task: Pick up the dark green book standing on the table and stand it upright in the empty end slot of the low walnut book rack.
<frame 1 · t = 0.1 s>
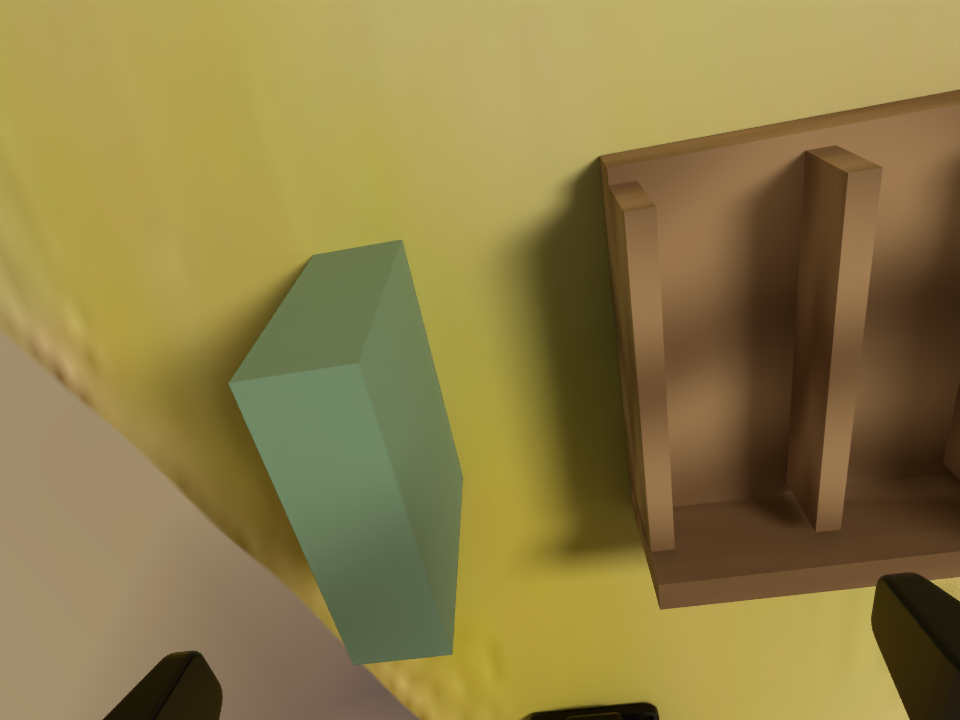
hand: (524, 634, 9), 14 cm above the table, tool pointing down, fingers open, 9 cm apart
green book: (395, 375, 24), on the table
book rack: (872, 304, 22), on the table
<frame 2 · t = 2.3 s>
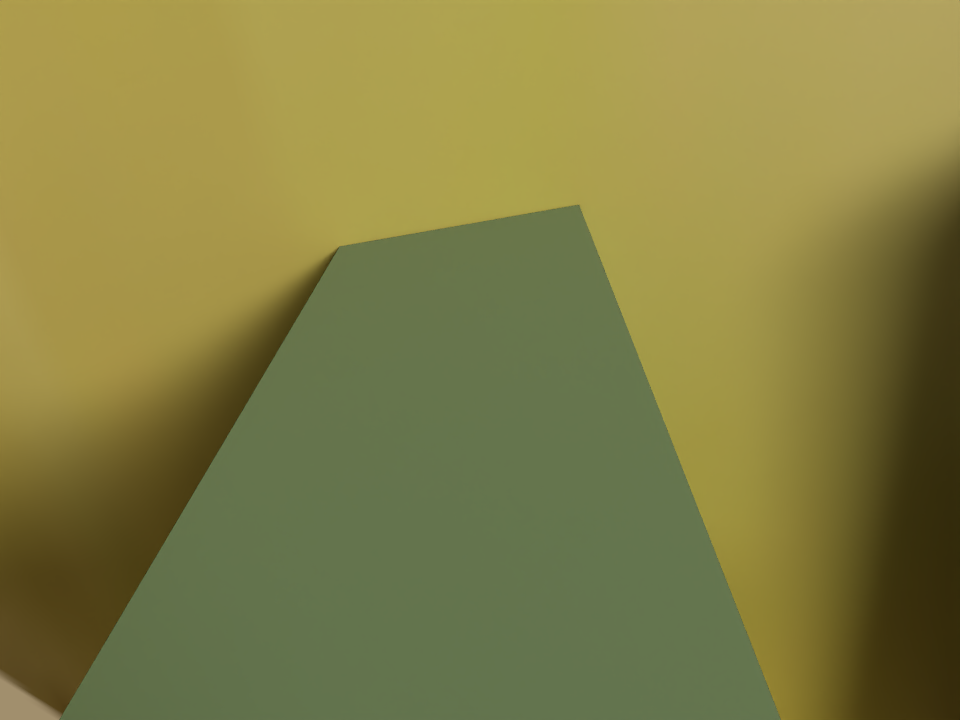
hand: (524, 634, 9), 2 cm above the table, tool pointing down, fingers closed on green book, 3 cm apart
green book: (519, 524, 10), on the table, touching gripper
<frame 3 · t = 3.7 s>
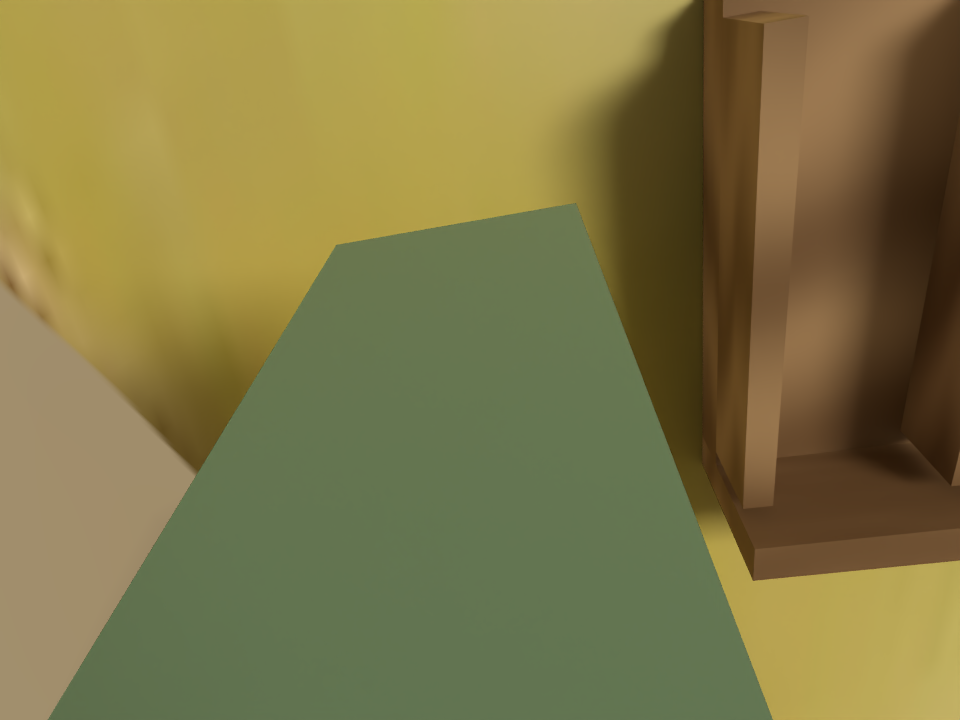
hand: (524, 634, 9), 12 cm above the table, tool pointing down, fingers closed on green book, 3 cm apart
green book: (516, 523, 10), point 10 cm above the table, touching gripper
when the fingers open (5 cm above the table, at t = 5.5 s): green book drops 1 cm, resting on book rack.
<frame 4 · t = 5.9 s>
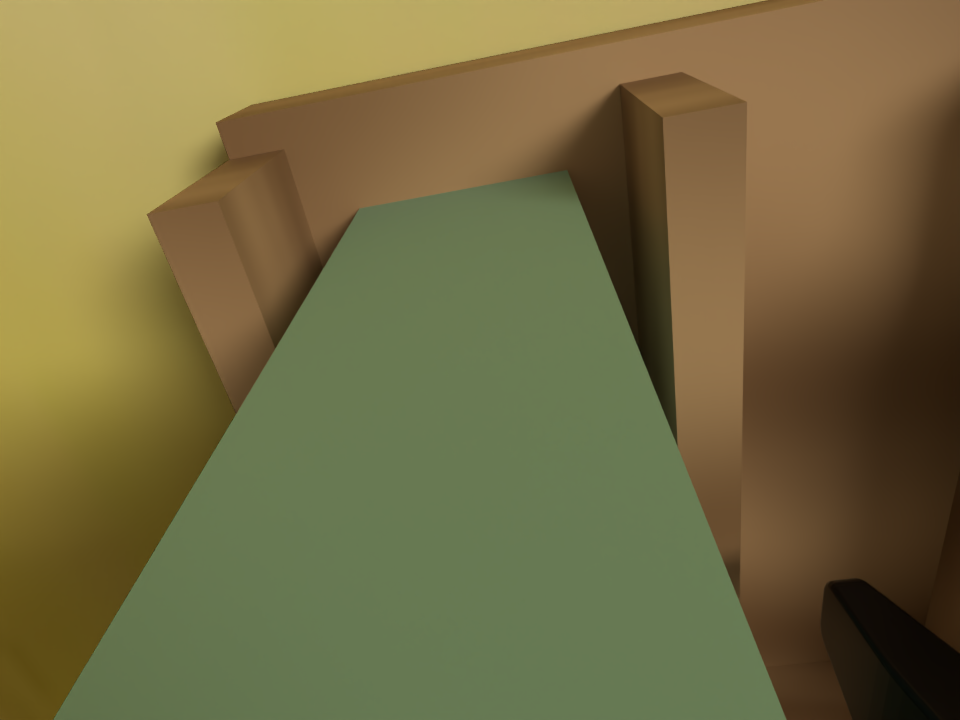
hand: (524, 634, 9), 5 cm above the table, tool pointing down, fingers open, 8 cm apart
green book: (517, 463, 12), point 1 cm above the table, touching book rack
book rack: (795, 376, 12), on the table
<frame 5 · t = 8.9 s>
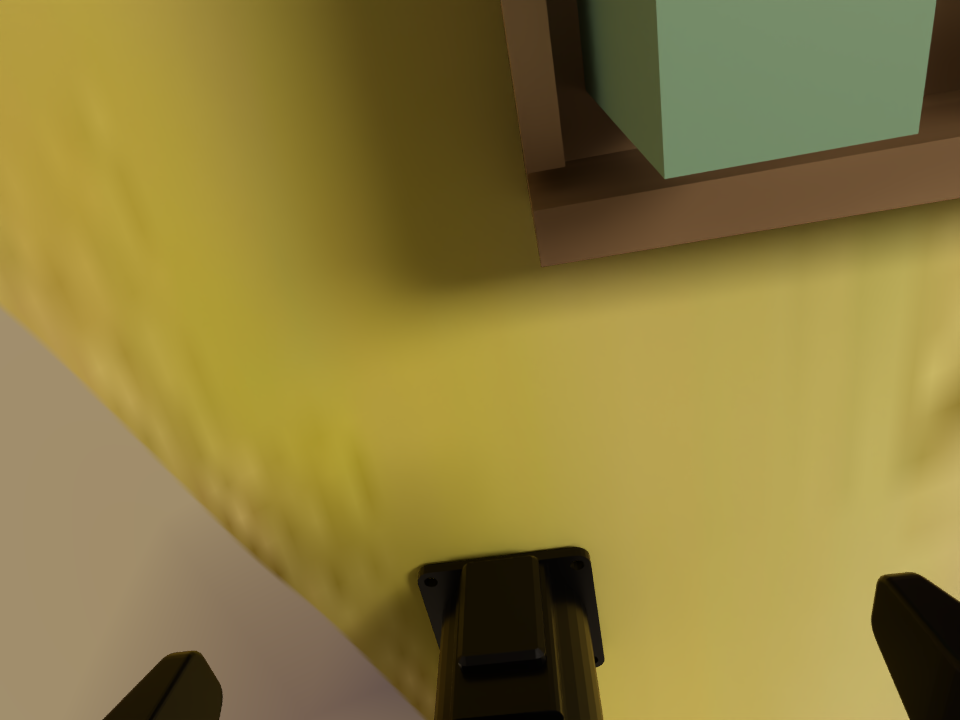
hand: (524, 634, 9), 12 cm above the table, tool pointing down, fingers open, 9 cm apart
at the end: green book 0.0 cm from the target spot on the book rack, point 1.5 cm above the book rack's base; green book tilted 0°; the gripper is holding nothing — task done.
